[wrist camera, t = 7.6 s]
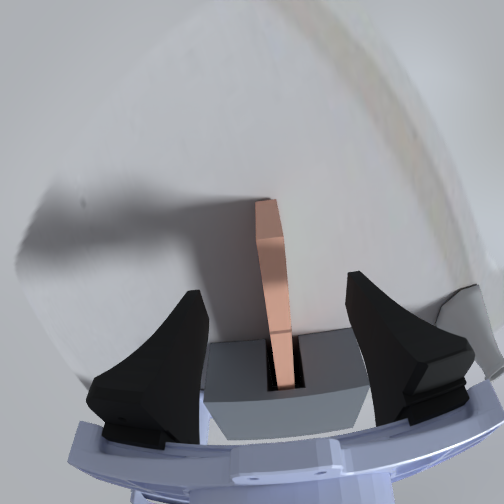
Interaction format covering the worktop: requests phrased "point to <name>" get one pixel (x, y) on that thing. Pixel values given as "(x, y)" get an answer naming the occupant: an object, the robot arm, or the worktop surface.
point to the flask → (473, 329)
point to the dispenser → (286, 401)
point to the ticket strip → (275, 289)
